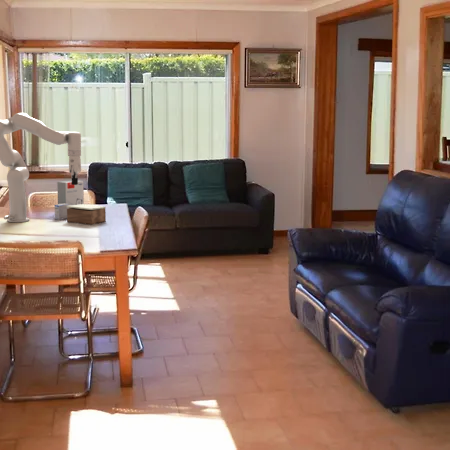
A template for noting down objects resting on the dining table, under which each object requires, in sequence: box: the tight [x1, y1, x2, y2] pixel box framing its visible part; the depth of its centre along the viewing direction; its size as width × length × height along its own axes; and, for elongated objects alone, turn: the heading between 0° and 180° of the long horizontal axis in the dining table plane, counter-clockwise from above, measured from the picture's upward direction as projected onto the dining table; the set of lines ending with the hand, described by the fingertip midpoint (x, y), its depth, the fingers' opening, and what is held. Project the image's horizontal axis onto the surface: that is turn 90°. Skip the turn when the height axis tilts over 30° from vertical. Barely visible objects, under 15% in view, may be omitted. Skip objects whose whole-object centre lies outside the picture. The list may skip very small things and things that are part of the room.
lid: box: [66, 203, 106, 210], centre depth 421 cm, size 13×18×1 cm
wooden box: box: [66, 208, 107, 226], centre depth 422 cm, size 13×18×8 cm
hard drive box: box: [56, 179, 85, 206], centre depth 454 cm, size 16×8×20 cm, turn 143°
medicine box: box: [54, 203, 69, 221], centre depth 433 cm, size 8×4×9 cm, turn 141°
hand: (74, 184), depth 420 cm, fingers closed
